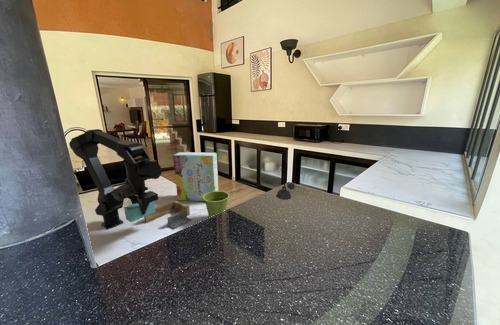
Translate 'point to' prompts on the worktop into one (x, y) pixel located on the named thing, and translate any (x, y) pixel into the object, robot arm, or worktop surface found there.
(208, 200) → the plant pot
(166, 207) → the tan wooden l-shaped piece
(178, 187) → the snack box
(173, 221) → the bookend
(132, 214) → the teal rectangular block
